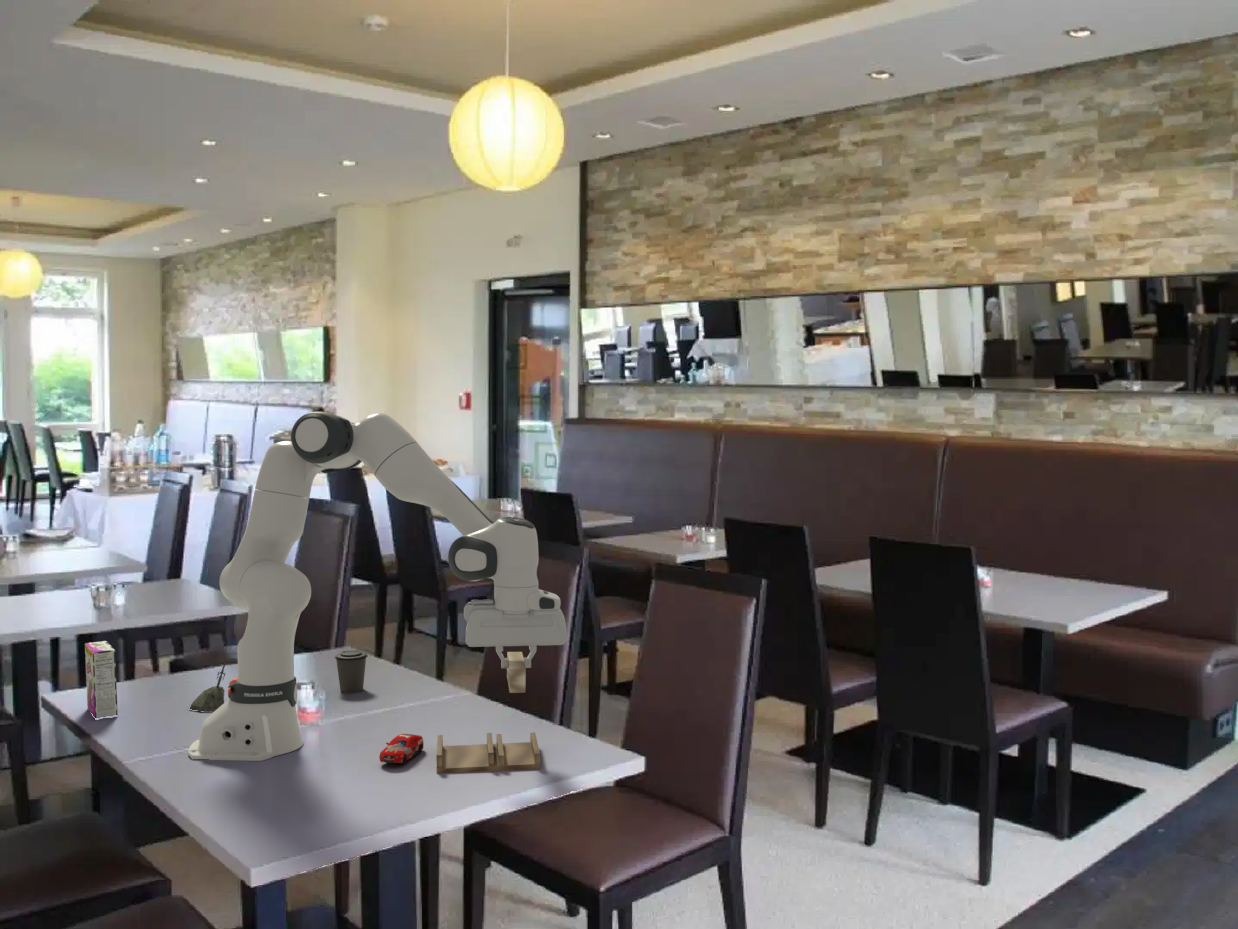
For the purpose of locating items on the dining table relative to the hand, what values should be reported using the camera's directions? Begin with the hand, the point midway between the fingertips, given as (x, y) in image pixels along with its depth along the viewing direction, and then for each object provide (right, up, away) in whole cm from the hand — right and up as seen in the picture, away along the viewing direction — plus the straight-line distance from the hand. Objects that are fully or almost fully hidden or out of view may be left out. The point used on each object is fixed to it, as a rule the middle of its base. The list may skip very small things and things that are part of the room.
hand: (516, 667), depth 223 cm
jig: (-6, -19, +1) cm, 20 cm away
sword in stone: (-74, -17, +36) cm, 85 cm away
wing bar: (0, -3, 0) cm, 3 cm away
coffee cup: (-45, -16, +52) cm, 71 cm away
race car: (-23, -21, -2) cm, 31 cm away
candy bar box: (-97, -17, +31) cm, 104 cm away
